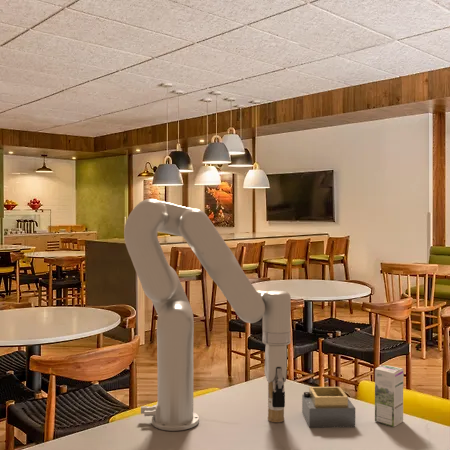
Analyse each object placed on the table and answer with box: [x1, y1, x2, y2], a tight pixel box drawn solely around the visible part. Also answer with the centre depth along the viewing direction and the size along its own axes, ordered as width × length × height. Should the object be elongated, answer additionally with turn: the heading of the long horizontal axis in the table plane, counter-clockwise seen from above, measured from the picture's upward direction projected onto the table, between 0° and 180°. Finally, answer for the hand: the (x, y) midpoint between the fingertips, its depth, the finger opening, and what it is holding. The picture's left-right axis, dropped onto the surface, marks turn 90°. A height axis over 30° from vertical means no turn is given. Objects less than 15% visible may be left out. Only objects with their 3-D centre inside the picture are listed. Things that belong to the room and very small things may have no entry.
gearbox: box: [301, 386, 356, 429], centre depth 148 cm, size 12×11×8 cm
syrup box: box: [374, 364, 405, 428], centre depth 146 cm, size 6×6×14 cm
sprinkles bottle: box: [267, 379, 285, 423], centre depth 148 cm, size 5×5×13 cm
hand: (276, 400), depth 148 cm, fingers open, 9 cm apart
